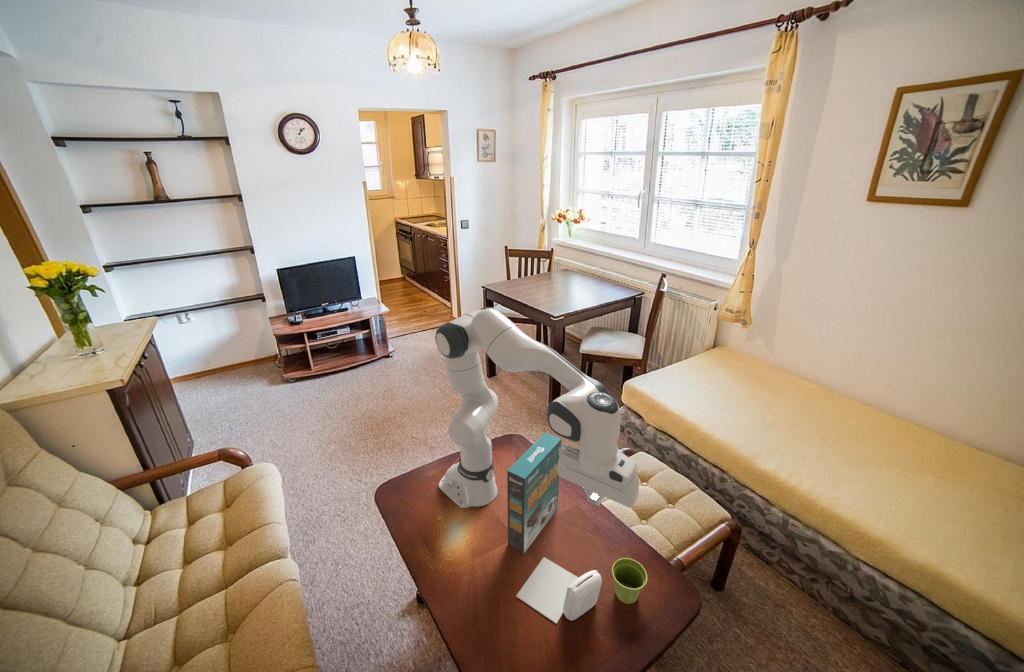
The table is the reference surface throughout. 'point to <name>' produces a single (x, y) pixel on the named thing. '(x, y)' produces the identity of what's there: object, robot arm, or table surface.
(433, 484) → the table surface
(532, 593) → the mat
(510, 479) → the cake mix box
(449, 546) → the table surface
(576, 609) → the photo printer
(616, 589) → the plant pot
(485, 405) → the robot arm
